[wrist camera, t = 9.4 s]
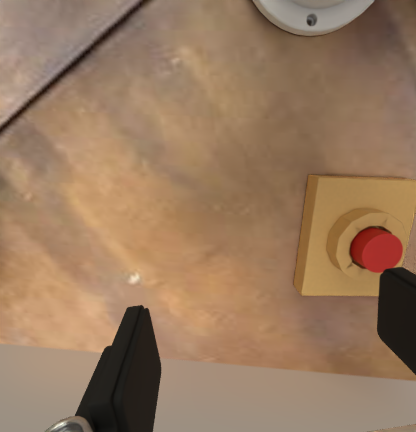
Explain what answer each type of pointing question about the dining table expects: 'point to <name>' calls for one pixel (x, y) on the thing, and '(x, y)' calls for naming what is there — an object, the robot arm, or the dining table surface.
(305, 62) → the dining table surface
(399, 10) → the dining table surface
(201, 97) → the dining table surface
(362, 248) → the button
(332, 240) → the button box
